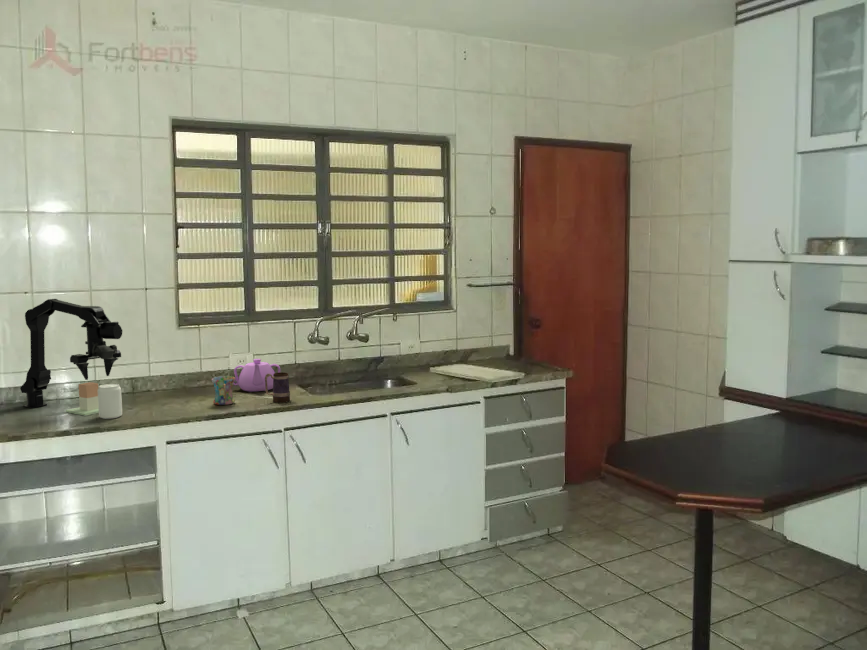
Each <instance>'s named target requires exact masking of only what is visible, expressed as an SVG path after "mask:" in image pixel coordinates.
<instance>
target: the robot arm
mask: <svg viewBox="0 0 867 650" xmlns="http://www.w3.org/2000/svg"><path fill="white" fill-rule="evenodd" d="M56 311H57V312H61V313H64V314H69V315H73V316H76V317H78V318H79V319H80V320H83V321H84V323H82V324H81V326H80V327H81V328H86V341H85V342H84V343H85V345H87V351H85V354H81V353H78V354H71V356H70V357H69V363H73V364H72V365H75V366H76V367H77V368H78V369H79V371H80V373H81V375H82V376H83V378H84V380H86V381H87V380H88V379H89V370H88V369H89V368H88V366H89V364H90V362H88V361H90V360H95V359H101V360H103V364H104V369H105V370H104V372H105V376H106V377H110V375H111V371H112V368H113V365H114V363H115V362H116V361H117V360H119V358H122V352H121V351H120V350H119V349H118V346H117V345H116V344H111V345H107V342H106V340H120V339H121V338H122V336H123V329H122V326H121V325H120V323H119V321H111V320H110V319H109V317H108V316H107V314H106V313H105V311H104V308H103V307H102V306H98V305H80V304H76V303H71V302H69V301H65V300H61V299H58V298H50V299H49V298H48V299H46V300H44V301H43V302H42V303H40V304H38V305H36V306H33V308H30V309H28V310H27V311H25V313H24V319H25V325H26V326H27V328H28V329H29V331H30V335H29V336H30V366H29V369H28V371H27V373H26V376H25V377H26V378H25V381H24V382H23V384H22V385H21V386H20V388H19V389H20V392H21V393H22V394H25V395H26V397H25V398H26V404H23V406H22V407H23V408H24V407H25V408H30V409H35V408H39V407H45V406H47V405H48V404H47V403H44V394H43V391H44V390H47V389H48V385H49V383H50V381H51V380H52V377H51V373H52V371H51V369H47V367H46V365H45V364H46V363H45V362H46V360H45V358H46V357H45V354H46V353H45V351H46V349H45V348H46V347H45V330H46V328H47V326H48V324H49V319H50V317H51V316H52V315H53V314H54V313H55V312H56ZM104 339H105V340H104Z"/></svg>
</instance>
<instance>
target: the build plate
mask: <svg viewBox="0 0 867 650" xmlns="http://www.w3.org/2000/svg"><path fill="white" fill-rule="evenodd" d="M65 412H66V413H69V414H75V415H79V416H85V417H86V416H90V415H95V414H99V409H94V410H90V411H85V410H80V406H78V407H75V408H70V409H66V410H65Z"/></svg>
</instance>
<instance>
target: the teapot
mask: <svg viewBox="0 0 867 650" xmlns="http://www.w3.org/2000/svg"><path fill="white" fill-rule="evenodd" d="M252 360H253V362H248V363H246V364H245V365H241V364H239V365H236V366H235V367H234V369H233V373H234V376H235V380H234V383H233V386H238V387H239V388H240V389H241V390H242V391H245V392H248V393H249V392H250V393H251V392H266V388H265V376H266V375H267V374H271V375H272V376H273V375H274V373H276V372H275V370H274V368H273V367H277V373H280V372H282V369H281V367H280V365H279V364H277V363H271V364H270V363H269V362H266V361H262V359H261V358H254V359H252ZM239 368H240V369H241V368H242V369H241V371H240V374H239V376H238V372H237V371H238V370H237V369H239ZM267 388H268V391H269V390H273V378H271V376H269V377H268V378H267Z"/></svg>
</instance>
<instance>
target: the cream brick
mask: <svg viewBox="0 0 867 650" xmlns="http://www.w3.org/2000/svg"><path fill="white" fill-rule="evenodd" d="M78 399H79V402H78V404H79V407H80V410H85V411H90V410H94V409H99V407H98V396H96V397H91V398H83V397H78Z"/></svg>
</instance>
